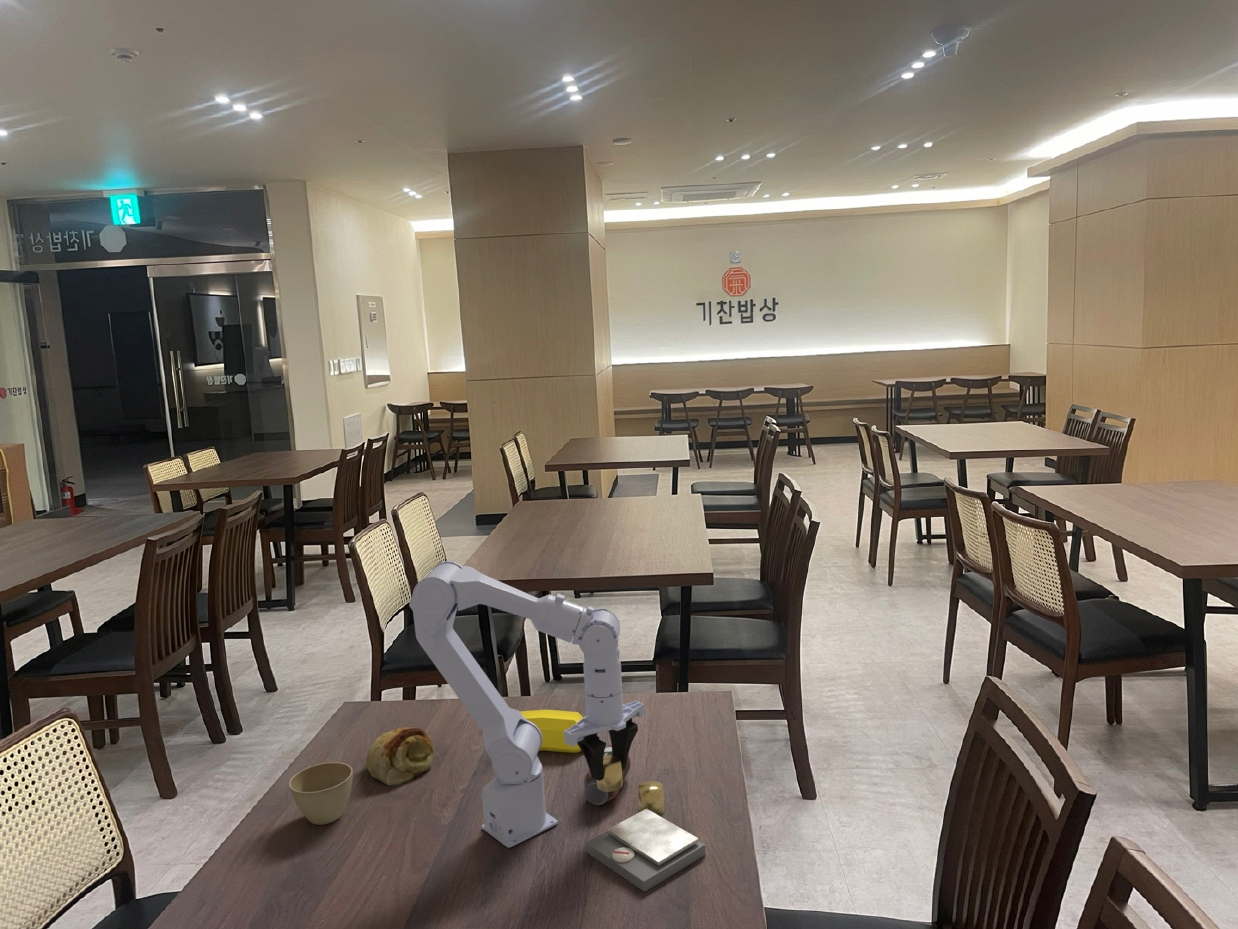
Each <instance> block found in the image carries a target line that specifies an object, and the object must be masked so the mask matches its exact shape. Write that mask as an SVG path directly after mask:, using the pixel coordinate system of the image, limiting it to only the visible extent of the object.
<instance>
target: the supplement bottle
mask: <svg viewBox="0 0 1238 929" xmlns="http://www.w3.org/2000/svg"><path fill="white" fill-rule="evenodd" d="M604 755H612V744H610V745H606V746H605V750H604ZM631 764H632V763H631V758H630V755H629V754H628V758H627V763H626V768H625V769H623V770H622V780H623V782H624V781H625V780H626V777H627V775H628V774H629V772H630V768H631ZM584 776H585V777H584V781H583V782H584V783H583V785H584V796H585V797H586V799H587V801H589V803H590V804H592V805H596V806H600V805H601V806H602V805H604V804H605V803H606V802H609V801H611V800H613V799H614V798H615V797H616V796H617V794H618V793H619V791H620V789H618V790H616V791H612V792H605V791H601V790H599V789H598V787H597V780H596V779H595V778H593V777H592V776H591V773H590V770H589V769H588V771H587V773H586V775H584Z"/></svg>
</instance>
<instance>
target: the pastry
mask: <svg viewBox="0 0 1238 929" xmlns="http://www.w3.org/2000/svg"><path fill="white" fill-rule="evenodd" d="M433 742H434V741H432V739H431V738H430V736H429V735H428V734H427V732H426V731H425V730H424V729H422V728H420V727H400V728H396V729H394V730H393V729H392V730H390V731H387V732H384V733H382V734H381V735H379V736H378V737H377V738H376V739H374V741H373V742H372V744H371V746H370V747H369V750H368V751H367V754H366V758H365V766H366V768H367V770H368V772H369V773H370V776H371V777H372V778H374V779H375V780H378V781H380V782H382V784H383V785H387V786H398V785H399V786H400V785H402V784H404V783H408V782H409V781H411V780H413V779H414V778H416V777H417V776H419V775H422V774H423V772H427V771H428V770H430V768H431V767H432V765H433V762H434V752H435V746H434V743H433Z"/></svg>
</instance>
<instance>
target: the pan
mask: <svg viewBox="0 0 1238 929" xmlns="http://www.w3.org/2000/svg"><path fill="white" fill-rule="evenodd" d="M606 832H607V833H608V834H609V835H611V836H612V837H614V838H616V839H617V840H619V841H620V842H622V843H623V844H625V845H627V846H628V847H630V848H631V849H633V850H634V851H636V852H637V853H639V854H641V855H642V856H644V857H645V858H647V859H648V860H650V861H652V862H653V863H655V864H656V865H658V866H659V865H661V864H663V863H664V862H666V861H668V860H669V859H671V858H673V857H674V856H676V855H678V854H679V853H681V852H683V851H685V850H686V849H688V848H690V847H691V846H693V845H695V844H696V843H698V842H700V840H699V838H698V837H697V836H695V835H693V834H692V833H690V832H688V831H687V830H684V829H683V828H681V827H680V826H677V825H676V824H674V823H672V822H671V821H668V820H667V819H665V818H664V817H662V816H661V815H657V814H655V813H653V812H652V811H650V810H648V809H645V810H643V811H641V812H637V813H635V814H634V815H632V816H630V817H628V818H626V819H624V820H623V821H620V822H618V823H617V824H615V825H612V826H611V827H609V828H607V829H606Z"/></svg>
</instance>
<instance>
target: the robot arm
mask: <svg viewBox="0 0 1238 929" xmlns="http://www.w3.org/2000/svg"><path fill="white" fill-rule="evenodd" d="M565 598H566V596H565V595H563V594H560V593H556V596H555V595H552V594H550V593H549V594H547V595H545V596H542V597H536V596H533V595H532V594H529V593H527V592H524V591H522V590H520V589H517V588H516V587H513V586H511V585H508V584H506V583H504V582H502V581H500V580H497V579H495V578H493V577H490V576H488V575H486V574H483V573H482V572H480V571H478V570H477V569H475V568H474V567H472V566H468V565H464V566H463V565H462V564H460V563H458V562H456V561H454V560H453V561H452V560H445V561H441V562H439V563H438V564H436V565H435V566H434V567H433V568H432V570H431V571H430V572H429V573H428V574H427V575H426V576H425V577H424V578H422V579H421V580H419V581H418V583H416V585H415V586H414V589H413V592H412V595H411V598H410V601H409V604H408V606H409V607H410V609H411V610H412V612H413V613H412V614H413V622H414V623H413V624H414V632H415V637H416V640H417V642H418V643H419V645H420V646H421V648H422V649H423V651H424V652H425V654H426V655H427V657H428V658H429V659H430V660H431V662H432V663H433V664H434V666H435V667H436V669H437V670H438V671H439V673H440V674H441V676H442V677H443V678H444V680H445V681H446V683H447V684H448V686H449V687H450V688H451V690H452V691H453V692H454V694H455V695H456V697H457V698H458V699H459V701H460V702H461V703H462V705H463V706H464V708H465V709H466V710H467V712H468V714H469V715H470V716H471V717H472V719H473V720H474V722H475V723H476V724H477V726H478V727H479V729H480V730H481V731H482V736H483V744H484V745H483V746H484V750H485V752H486V753H487V755H488V756H489V759H490V761H491V766H492V767H491V768H492V771H493V772H494V775H495V776H494V778H493V779H492V780H491V781H490V782H488V783H487V784H485V785H484V786H483V787H482V789H481V803H482V804H481V805H482V806H481V807H482V816H483V824H482V825H481V829H483V830H484V831H485V832H487V833H488V834H489V836H492V837H493V838H494V839H496V840H497V841H498V842H499V843H501V844H502V845H503V846H505V847H506V848H509V849H510V848H512V847H515V846H516V845H518V844H520V843H522V842H525V841H527V840H528V839H530V838H533V837H534V836H536V835H538V834H540V833H542V832H544V831H547V830H548V829H550V828H552V827H554V826H556V825H557V824H559V822H558V820H557V819H556V818H555V817H554V816H552V815H550V814H549V813H548V812H547V809H546V798H545V795H546V794H545V784H544V783H545V782H544V771H543V765H542V763H541V761H540V758H539V756H538V753H539V752H540V751H539V749H540V747H541V745H542V734H541V731H540V729H539V728H538V727H537V726H536V725H535V724H534V723H532V722H530V721H528V720H527V719H525V718H524V717H523V715H522V714H521V712H520V711H521V710H517V709H516V708H515V709H514V708H512V707H509V705H508V704H507V702H506V701H505V700H504V698H503V696H501V694H500V693H499V691H498V689H497V688H495V686H494V684H493V683H492V681H491V680H490V678H489V677H488V676H487V674H486V673H485V672H484V670H483V669H482V668H481V666H480V664H479V663H478V662H477V660H476V659H475V658H474V656H473V655H472V653H471V651H469V649H468V648H467V646H466V645H465V643H464V642H463V640H462V639H461V638H460V636H459V635H458V633H457V632H456V631H455V629H454V622H455V619H456V614H457V611H458V612H459V611H463V610H466V609H468V608H472V607H474V606H478V605H485V606H486V607H490V608H492V609H493V608H494V609H496V610H497V609H498V610H500V611H503V612H506V613H510V614H512V615H516V616H519V617H522V618H525V619H529V620H530V622H531V623H532V624H533V628H534V629H535V630H536V631H538V632H541V633H543V634H545V635H548V636H551V637H554V638H557V639H559V640H562V641H565V642H568V643H571V645H572V644H573V645H578V646H579V649H580V651H581V652H582V653H583V662H582V663H583V666H582V668H583V680H584V695H585V696H584V699H585V710H586V715H584V717H583V718H582V719H581V720H580V721H579V722H577V723H576V724H575V725H573V726H572V727H571V728H569V729H567V730H565V731H564V740H565V743H566V744H568V745H570V746H572V747H573V746H576V745H577V744H578V746H579V747H580V749H581V751H580V752H582V754H583V756H584V759H585V761H586V764H587V766H588V771H589V770H590V773H591V776H592V777H593V778H595V779H596V780H598V781H600V780H603V756H604V750H605V747H606V746H607V743H606V742H605V741H603V740H602V739H600V735H599V736H598V734H599V733H603V732H608V734H609V738H610V743H611V744H610V745H612V755H616V756H618V757H620V758H621V766H622V770H623V769H625V768H626V763H627V758H628V755H629V753H630V749H631V746H632V743H633V741H634V739H635V736H636V735H637V733H638V732H639V727H638V724H637V722H634V721H633V719H634V718H636V717H638V718H643V717H645V715H646V714H645V713H646V712H645V710H646V709H645V704H644V703H643V702H640V701H639V700H635V701H631V702H627V703H624V701H623V700H624V699H623V682H622V681H623V680H622V664H621V662H622V661H621V659H620V654H621V653H620V648H619V636H620V633H621V624H620V621H619V619H618V617H617V615H616V614H614V613H613V612H612V611H609V610H608V609H607V608H605V607H598V608H594V607H593V606H590V605H589V606H588V607H584V606H581V605H579V604H576V603H574V602H571V601H569V600H565Z"/></svg>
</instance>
